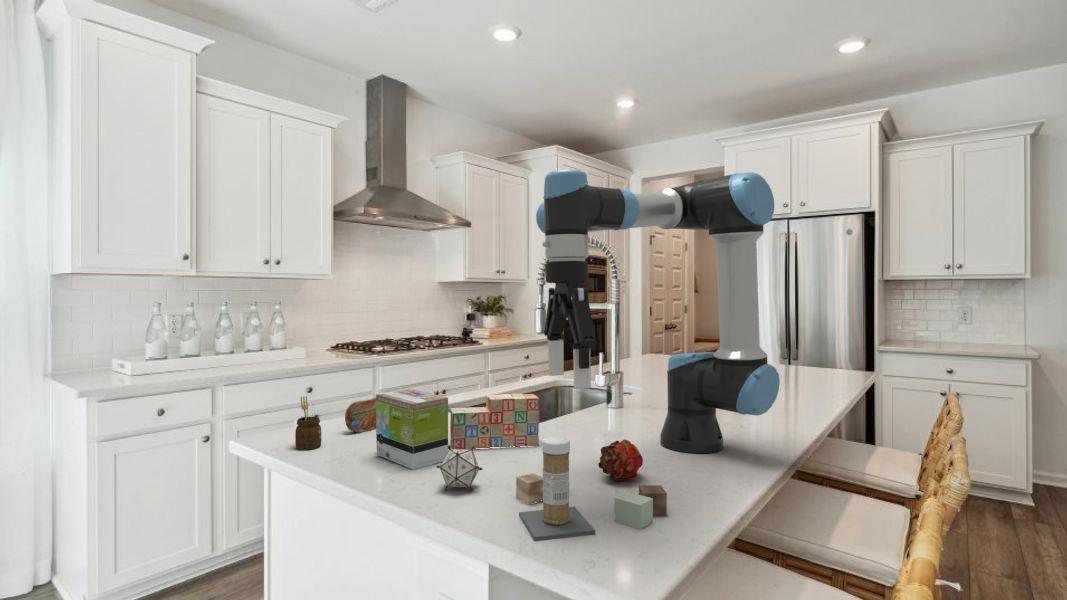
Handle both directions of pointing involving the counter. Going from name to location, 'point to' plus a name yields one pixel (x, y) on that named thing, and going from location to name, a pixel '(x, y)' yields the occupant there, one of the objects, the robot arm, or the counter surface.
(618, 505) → the sage painted block
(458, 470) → the game die
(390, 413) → the tea box
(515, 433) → the stack of blocks
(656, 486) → the walnut block
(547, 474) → the sprinkles bottle
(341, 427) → the counter surface
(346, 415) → the tin
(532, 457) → the counter surface
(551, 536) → the slate mat
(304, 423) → the utensil holder
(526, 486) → the oak block
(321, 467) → the counter surface
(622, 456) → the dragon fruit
